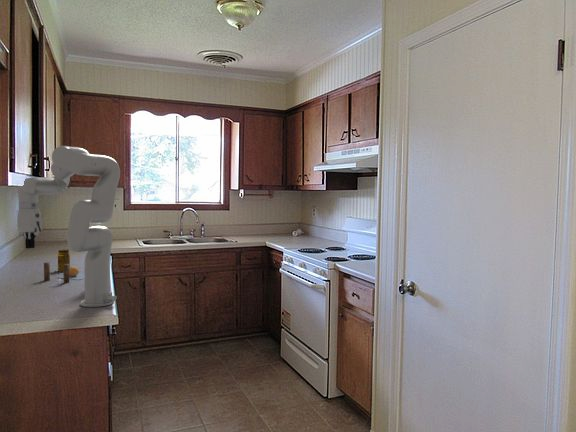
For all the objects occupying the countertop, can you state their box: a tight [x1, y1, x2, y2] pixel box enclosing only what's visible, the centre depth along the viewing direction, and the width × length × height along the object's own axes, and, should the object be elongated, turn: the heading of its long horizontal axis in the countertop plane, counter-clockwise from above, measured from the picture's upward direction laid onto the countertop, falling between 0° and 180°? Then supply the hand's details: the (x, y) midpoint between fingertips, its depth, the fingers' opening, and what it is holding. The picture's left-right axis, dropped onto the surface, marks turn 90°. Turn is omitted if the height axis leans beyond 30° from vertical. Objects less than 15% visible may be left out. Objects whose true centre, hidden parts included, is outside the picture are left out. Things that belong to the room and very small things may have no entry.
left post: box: [43, 261, 51, 282], centre depth 223 cm, size 3×3×9 cm
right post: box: [62, 264, 70, 284], centre depth 219 cm, size 3×3×9 cm
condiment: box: [57, 249, 71, 273], centre depth 251 cm, size 7×8×12 cm
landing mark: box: [56, 273, 85, 281], centre depth 234 cm, size 14×14×1 cm
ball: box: [69, 265, 80, 277], centre depth 234 cm, size 6×6×6 cm
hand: (30, 248), depth 194 cm, fingers closed
